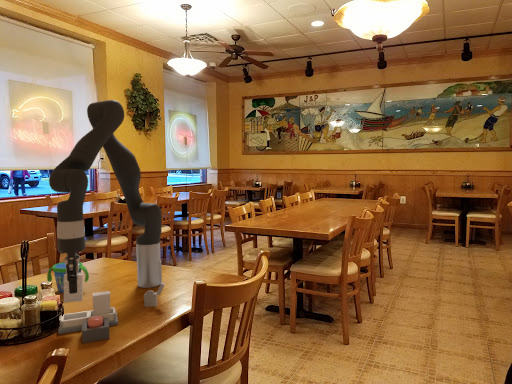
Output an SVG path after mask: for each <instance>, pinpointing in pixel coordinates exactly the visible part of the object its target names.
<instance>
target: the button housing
mask: <svg viewBox="0 0 512 384" xmlns="http://www.w3.org/2000/svg"><path fill="white" fill-rule="evenodd" d="M81 338H82V339H81V340H82V344H85V343H92V342H97V341H103V340H109V339H110V326H109V320H108V318H103V326H100V327H93V328H88V321H83V325H82V330H81Z"/></svg>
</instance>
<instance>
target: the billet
mask: <svg viewBox="0 0 512 384" xmlns="http://www.w3.org/2000/svg"><path fill="white" fill-rule="evenodd" d="M83 273H84V272H81V273H77V278H78V279H77V293H73V294H70V293H69V282H68V280H67V274H65V275H64V292H63V303H65V304H66V303H74V302H76V303H77V302H82V301H83V298H84V297H83V292H84V288H83V287H84V286H83V285H84V283H83V281H84V274H83ZM73 276H75V275H70V277H73Z"/></svg>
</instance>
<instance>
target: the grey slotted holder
mask: <svg viewBox="0 0 512 384" xmlns="http://www.w3.org/2000/svg"><path fill="white" fill-rule="evenodd" d="M94 316H102V317H103V318H108V320H109V327H110V326H111V327H112V326H117V325H119V319H118V313H117V310H116V307H115V306H112V307H111V291H110V290H107V291H98V292H92V309H91V310H84V311H79V312H70V313H64V314H63V316H62V315H61V317H60V322H59V325H60V326H59V325H58V330H57V331H58V335H62V334H67V333H68V332H69V333H73V332H79V331H81V332H82V325H83V321H88V319H89V318H91V317H94ZM69 333H68V334H69Z"/></svg>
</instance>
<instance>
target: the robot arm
mask: <svg viewBox="0 0 512 384" xmlns="http://www.w3.org/2000/svg"><path fill="white" fill-rule="evenodd" d="M86 109H87V110H86V114H87V118H88V121H89V124H90V125H91V127H92V129H91V130H90V131H88V132H87V133H86V134H84V135H83V136H82V137H81V138H80V139H79V140H78V141H77V143H75V145H74V147H73V148H72V150H71V151H70V153H69V155H68V156H67V157H65V159H63V160H62V161H61V162H60V163H59V164H58V165H57V166H55V168H54V169H53V170H52V171H51V173H50V176H49V178H48V184H49V187H50V189H51V190H53V191H54V192H56V193H67V194H68V193H69V196H68V199H65V200H62V201H59V202H58V203H57V204H56V205H57V206H56V215H57V216H56V217H57V225H56V236H57V238H56V239H57V241H56V242H57V252H58V253H60V254H66V256H65V257H64V262H65V265H66V274H67V280H68V282H69V293H70V294H73V293H77V279H78V278H77V273H78V272H79V262H80V259H81V258H80V255H79V254H78V253H79V252H83V251H84V250H86V234H85V233H86V232H85V231H86V230H85V229H86V228H85V222H84V202H85V199H86V194H87V190H88V186H89V178H88V175H87V173H86V172H88V170H90V169H91V167H92V166H93V163H94V162H95V160H96V158H97V157H98V154H99V153H100V151H101V150H102V148H103V150H104V152H105V154H106V157H107V158H108V160H109V164H110V166H111V168H112V169H111V170H112V171H113V173H114V176H115V178H116V180H117V182H118V185H119V187H120V189H121V192H122V194H123V197H124V200H125V203H126V207H127V210H128V212H129V213H128V214H129V217H130V219H131V221H132V223H134V224H135V225H137V226H139V227H144V232H143V233H141V234H139V235H137V236H136V237H135V245H136V246H135V249H136V251H135V252H136V273H137V274H136V276H137V278H136V280H137V287H139V288H143V289H144V288H146V289H149V288H154V287H158V286H159V287H160V285H161V283H162V282H163V272H162V270H163V269H162V260H161V236H162V229H163V228H162V227H163V224H162V221H163V220H162V218H163V216H162V208H161V207H160V205H158V203H149V202H144V200H143V198H142V196H141V194H140V183H141V178H142V174H141V173H142V172H141V168H140V166H139V163H138V161H137V158H136V156H135V155H134V153H132V151H131V150H130V149H129V148H127V147H126V145H124V144H123V143H122V142H120V140H118V139H117V137H116V136H115V134H114V133H115V132H116V131H117V130H118V129H119V127H120V126H121V125H122V124H123V122H124V119H125V111H124V107H123V105H122V104H121V103H120V101H118V100H115V99H107V100H103V101H95V102H92V103H90V104H89V105H88V106H87V108H86ZM70 275H75V276H73V277H70Z"/></svg>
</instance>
